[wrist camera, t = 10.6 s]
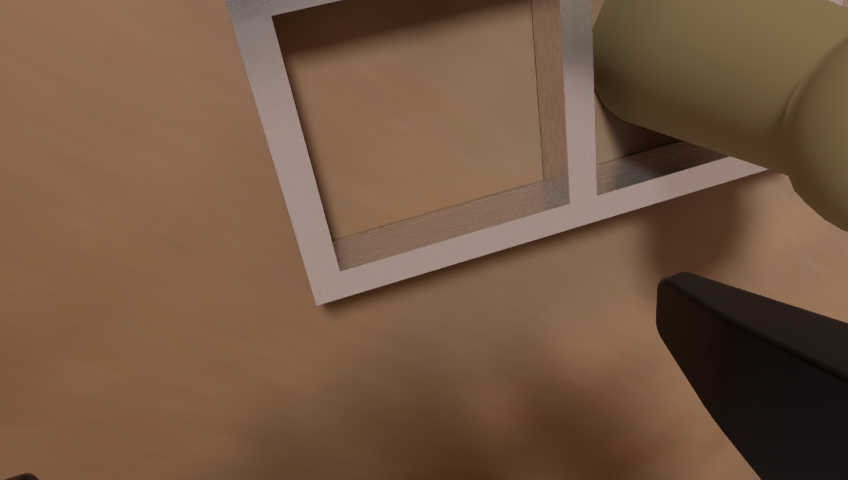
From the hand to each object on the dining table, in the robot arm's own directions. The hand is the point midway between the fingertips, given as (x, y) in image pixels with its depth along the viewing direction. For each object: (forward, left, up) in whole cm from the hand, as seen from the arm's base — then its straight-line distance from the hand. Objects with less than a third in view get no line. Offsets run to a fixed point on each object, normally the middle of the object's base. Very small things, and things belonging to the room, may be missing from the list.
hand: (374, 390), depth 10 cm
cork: (+13, -1, -13) cm, 19 cm away
